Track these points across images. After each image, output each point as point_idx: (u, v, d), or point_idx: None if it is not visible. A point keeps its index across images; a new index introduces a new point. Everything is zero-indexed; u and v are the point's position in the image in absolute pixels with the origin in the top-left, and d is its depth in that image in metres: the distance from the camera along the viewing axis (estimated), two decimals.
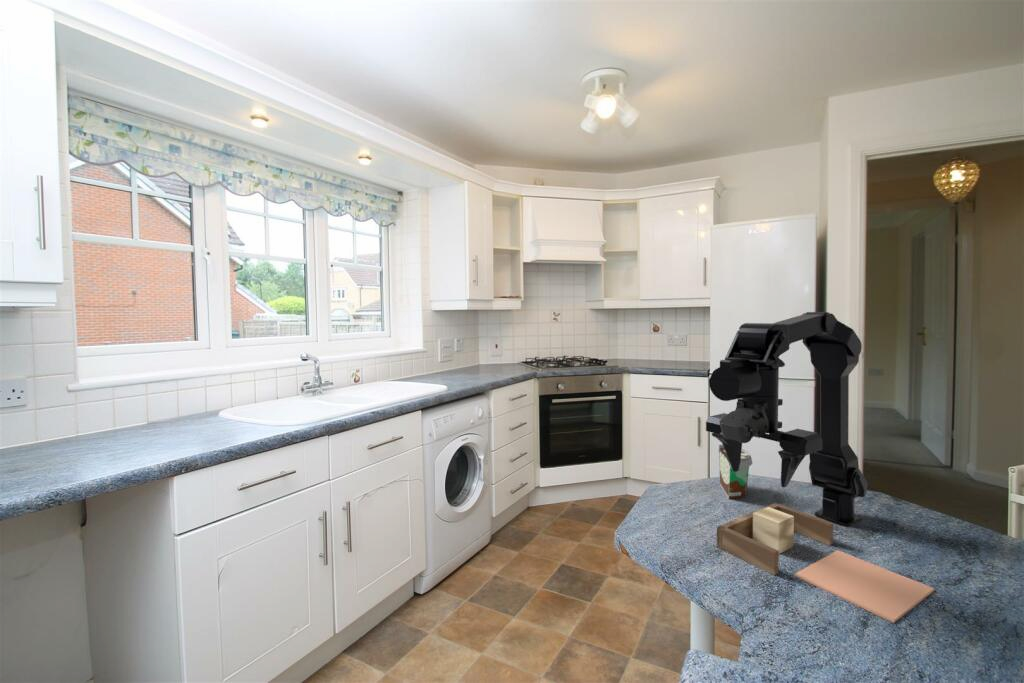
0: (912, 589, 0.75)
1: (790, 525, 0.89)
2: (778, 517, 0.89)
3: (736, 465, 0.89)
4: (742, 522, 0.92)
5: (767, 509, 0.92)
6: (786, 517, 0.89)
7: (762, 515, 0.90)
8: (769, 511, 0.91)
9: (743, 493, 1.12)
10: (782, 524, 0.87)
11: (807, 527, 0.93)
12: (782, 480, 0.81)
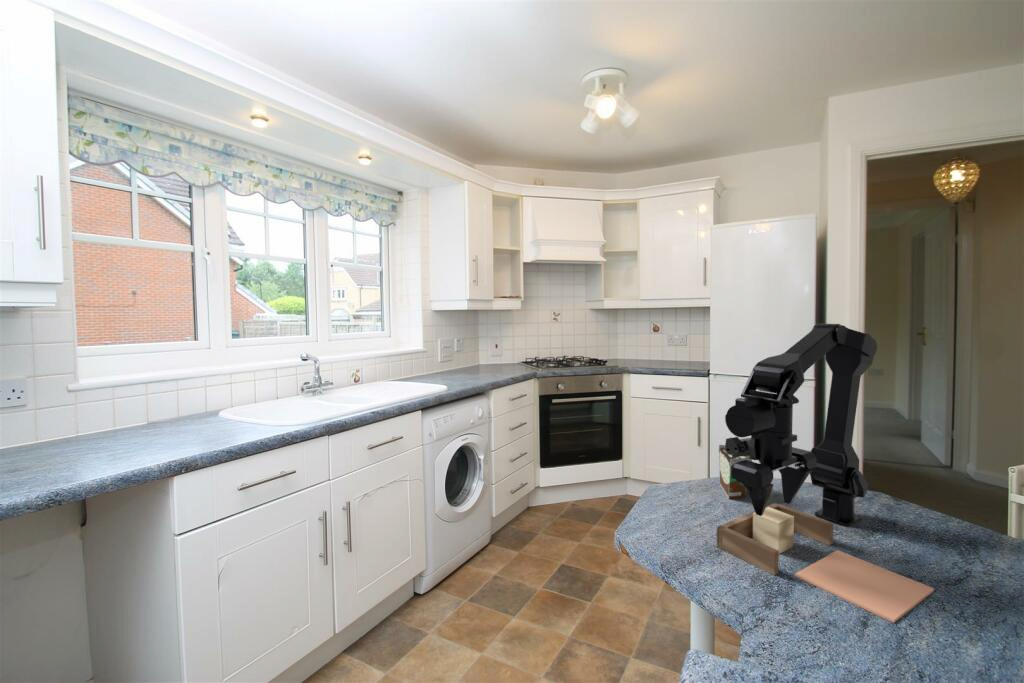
0: (912, 589, 0.75)
1: (790, 525, 0.89)
2: (778, 517, 0.89)
3: (786, 497, 0.92)
4: (742, 522, 0.92)
5: (767, 509, 0.92)
6: (786, 517, 0.89)
7: (762, 515, 0.90)
8: (769, 511, 0.91)
9: (743, 493, 1.12)
10: (782, 524, 0.87)
11: (807, 527, 0.93)
12: (754, 506, 0.88)
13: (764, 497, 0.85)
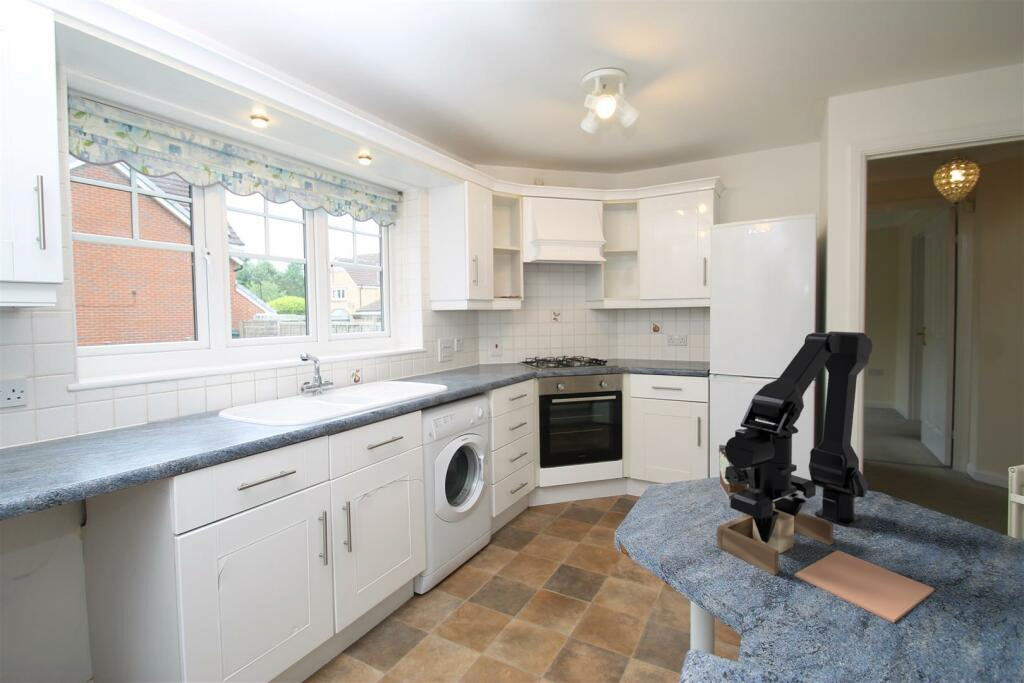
0: (912, 589, 0.75)
1: (791, 524, 0.89)
2: (778, 517, 0.89)
3: None
4: (742, 522, 0.92)
5: None
6: (786, 517, 0.89)
7: None
8: None
9: None
10: (782, 523, 0.87)
11: (807, 527, 0.93)
12: None
13: (770, 525, 0.86)
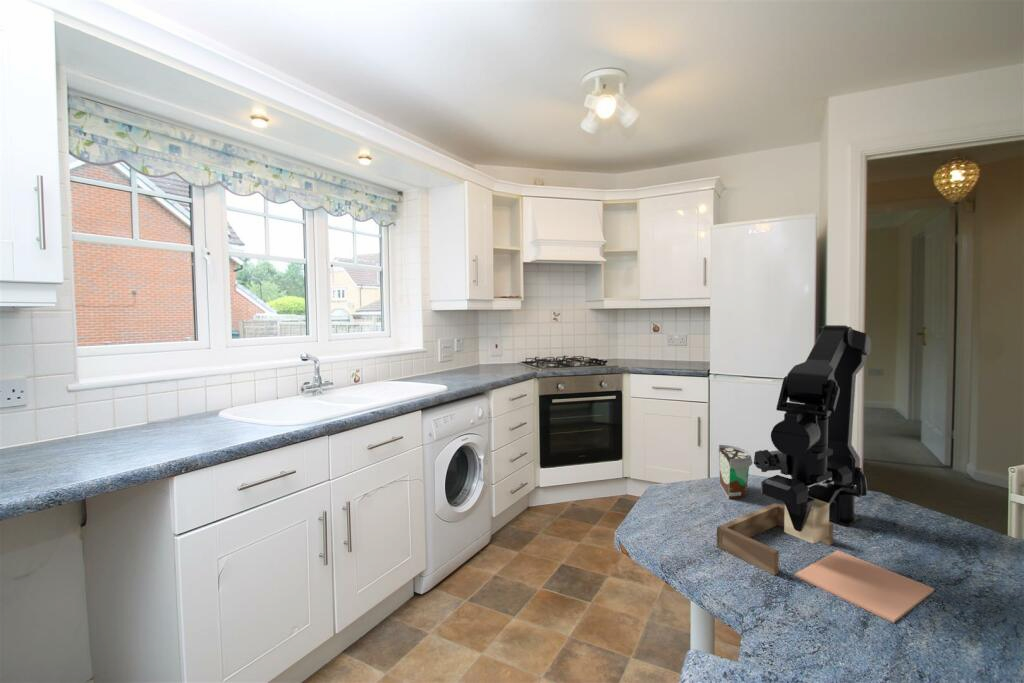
0: (912, 589, 0.75)
1: (826, 512, 0.83)
2: None
3: None
4: (742, 522, 0.92)
5: None
6: (821, 504, 0.83)
7: None
8: None
9: (743, 493, 1.12)
10: (817, 511, 0.82)
11: None
12: (792, 521, 0.84)
13: (804, 512, 0.81)
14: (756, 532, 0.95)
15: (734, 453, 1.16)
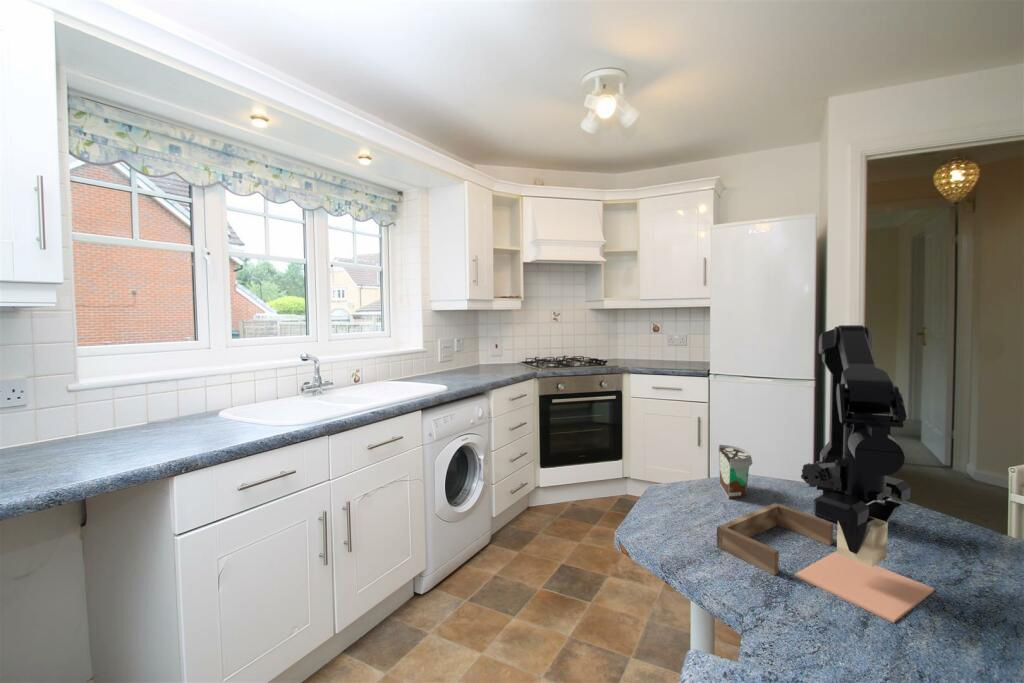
0: (912, 589, 0.75)
1: (884, 532, 0.76)
2: None
3: None
4: (742, 522, 0.92)
5: None
6: (879, 523, 0.76)
7: None
8: None
9: (743, 493, 1.12)
10: (876, 531, 0.74)
11: (807, 527, 0.93)
12: (847, 542, 0.77)
13: (863, 533, 0.73)
14: (756, 532, 0.95)
15: (734, 453, 1.16)
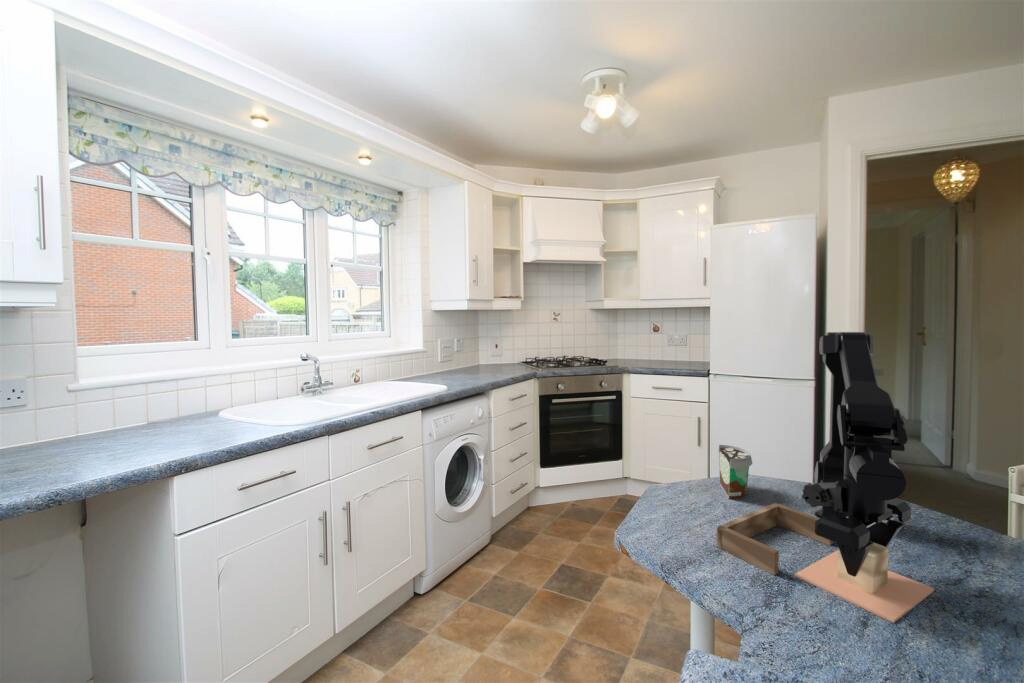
0: (912, 589, 0.75)
1: (885, 558, 0.76)
2: (870, 549, 0.76)
3: None
4: (742, 522, 0.92)
5: None
6: (880, 549, 0.76)
7: None
8: None
9: (743, 493, 1.12)
10: (877, 557, 0.75)
11: (807, 527, 0.93)
12: (846, 564, 0.76)
13: (861, 557, 0.73)
14: (756, 532, 0.95)
15: (734, 453, 1.16)
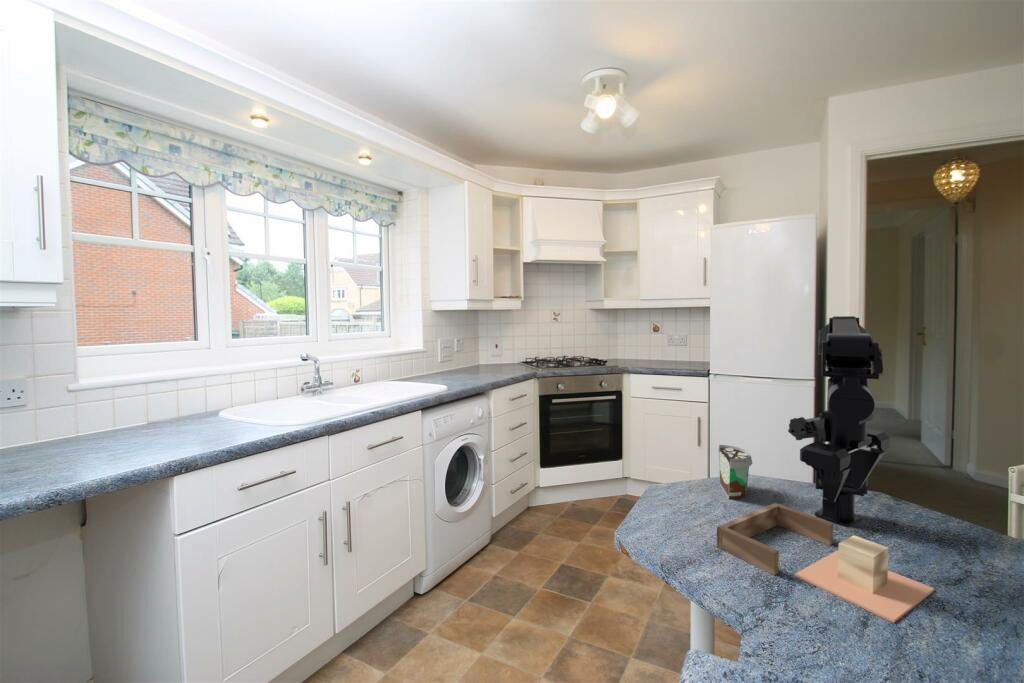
0: (912, 589, 0.75)
1: (885, 558, 0.76)
2: (870, 549, 0.76)
3: (856, 481, 0.85)
4: (742, 522, 0.92)
5: (854, 539, 0.79)
6: (880, 549, 0.76)
7: (850, 547, 0.77)
8: (857, 541, 0.79)
9: (743, 493, 1.12)
10: (877, 557, 0.75)
11: (807, 527, 0.93)
12: None
13: (839, 482, 0.78)
14: (756, 532, 0.95)
15: (734, 453, 1.16)
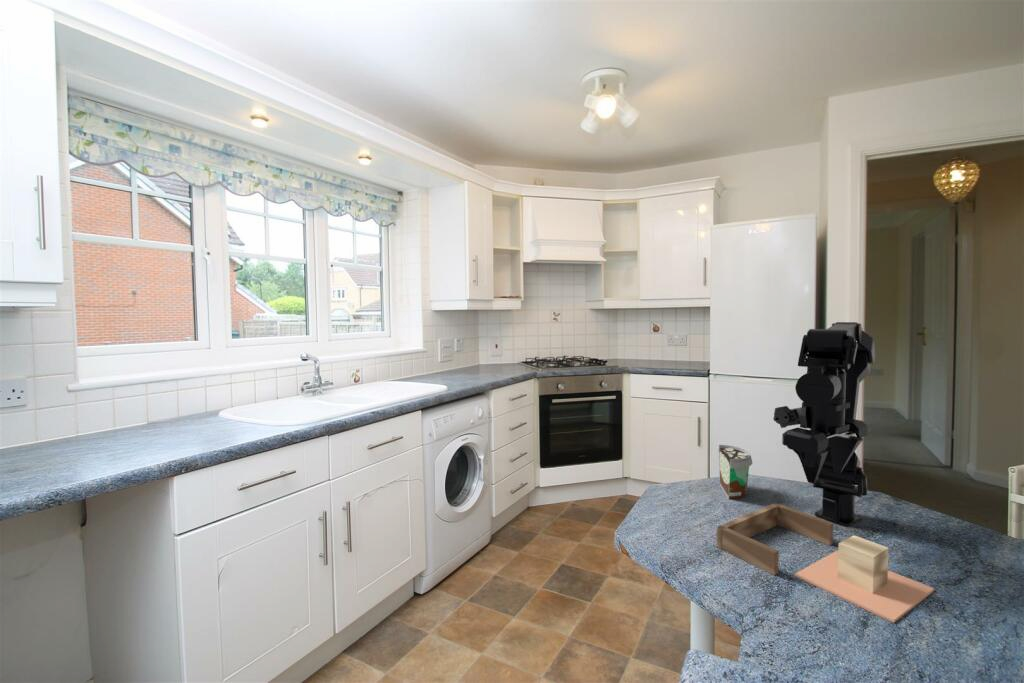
0: (912, 589, 0.75)
1: (885, 558, 0.76)
2: (870, 549, 0.76)
3: (836, 466, 0.91)
4: (742, 522, 0.92)
5: (854, 539, 0.79)
6: (880, 549, 0.76)
7: (850, 547, 0.77)
8: (857, 541, 0.79)
9: (743, 493, 1.12)
10: (877, 557, 0.75)
11: (807, 527, 0.93)
12: (806, 474, 0.87)
13: (818, 464, 0.84)
14: (756, 532, 0.95)
15: (734, 453, 1.16)
